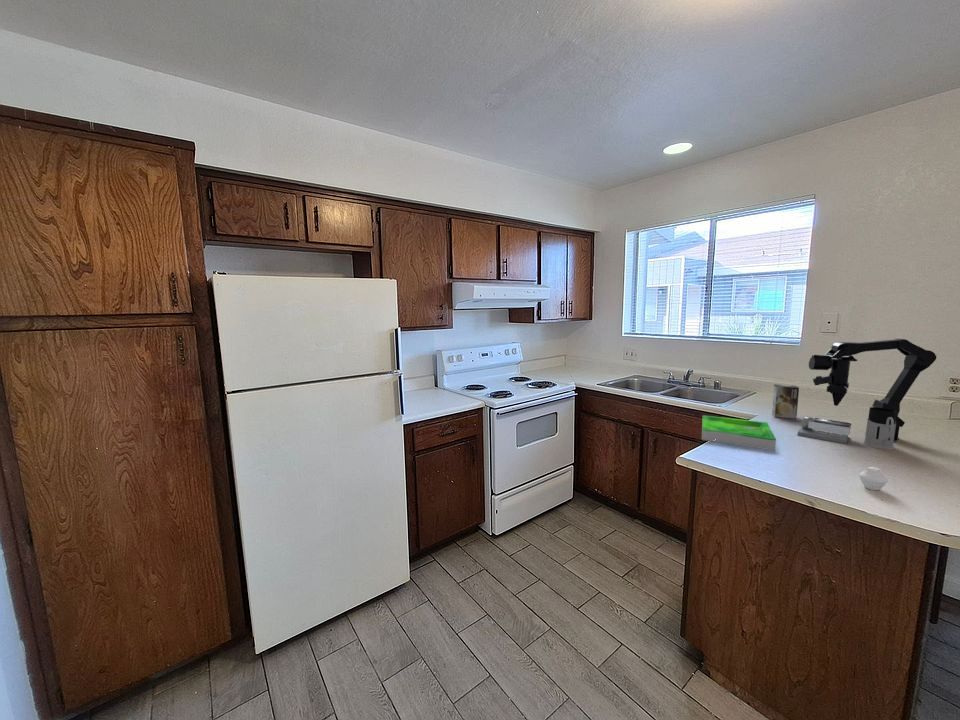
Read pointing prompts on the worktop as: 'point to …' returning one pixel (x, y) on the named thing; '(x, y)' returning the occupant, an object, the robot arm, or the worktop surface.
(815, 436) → the label board
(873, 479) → the white faceted lump
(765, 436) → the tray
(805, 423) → the swing arm
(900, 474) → the worktop surface
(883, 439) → the grey rounded piece
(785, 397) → the coffee box
